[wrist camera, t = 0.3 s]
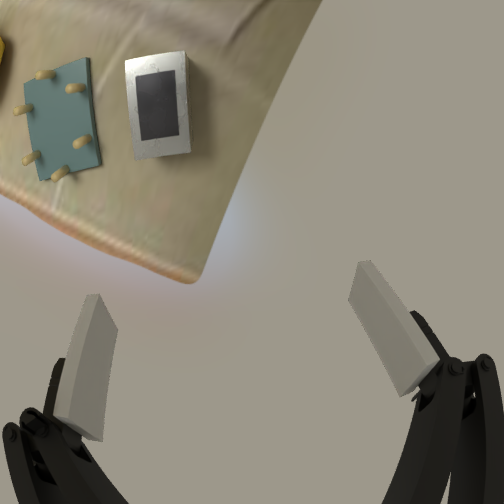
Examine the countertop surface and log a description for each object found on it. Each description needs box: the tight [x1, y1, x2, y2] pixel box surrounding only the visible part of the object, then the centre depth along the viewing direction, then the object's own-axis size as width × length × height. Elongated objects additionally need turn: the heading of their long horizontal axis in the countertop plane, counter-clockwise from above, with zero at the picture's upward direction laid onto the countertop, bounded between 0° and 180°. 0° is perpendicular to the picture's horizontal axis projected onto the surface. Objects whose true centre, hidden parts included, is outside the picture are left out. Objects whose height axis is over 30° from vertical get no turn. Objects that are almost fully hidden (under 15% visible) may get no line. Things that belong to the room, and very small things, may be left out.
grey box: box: [125, 50, 193, 160], centre depth 25 cm, size 11×6×7 cm, turn 1°
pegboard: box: [13, 57, 101, 182], centre depth 24 cm, size 15×10×5 cm
